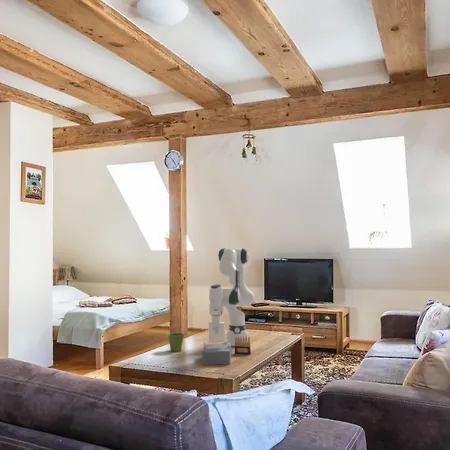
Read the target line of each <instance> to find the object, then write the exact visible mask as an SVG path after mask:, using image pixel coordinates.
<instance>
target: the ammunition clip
mask: <svg viewBox="0 0 450 450" xmlns="http://www.w3.org/2000/svg"><path fill="white" fill-rule="evenodd" d="M250 338H251V337H250V336H248V342H247V336H246V338H244V336H243V345H242V336H241V337H240V339H239V336H238V342H237V336H236V337H235V346H234V355H249V356H250V355H251V354H252V351H251V339H250ZM237 344H238V346H237Z"/></svg>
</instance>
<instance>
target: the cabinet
mask: <svg viewBox="0 0 450 450" xmlns="http://www.w3.org/2000/svg"><path fill="white" fill-rule="evenodd" d="M201 356H202V357H201V358H202V359H201V360H202V361H201V365H231V360H232V346H231V344H230V343H228V344H225V343H224V344H222V343H221V344H207V342H203V348H202V350H201Z"/></svg>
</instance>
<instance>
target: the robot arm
mask: <svg viewBox="0 0 450 450" xmlns="http://www.w3.org/2000/svg"><path fill="white" fill-rule="evenodd" d="M217 256H218V261H219V265H218V266H219V267H218V269H219V271H220V273H221V274H223V276H225V277H228V281H229V283H230V284H231V285H232V288H223V286H222V285H221V284H212V285H210V288H209V297H208V298H209V307H208V308H209V309H208V310H209V314H210V316H211V322H212V325H213V328H215V333H218V327H219V323H220V322H221V317H222V316H223V314H224V308H225V309H226V311H227V313H228V319H229V320H228V321H229V325H228V331H227V333H226V340H225V342H224V344H228V343H230V344H231V347H235V337H236V336H237V342H238V336H239V339H240V337H241V336H242V345H243V336H244V338H246V336H247V342H248V337H249V335H248V331H247V330H246V329H247V328H246V322H245V318H246V315H245V313H244V312H243V311H242V310H240V309H238V308H237V307H239V306H249V305H252V304H253V303H254V302H255V295H254V292H253V291H252V290H250V289H249V287H248V286H247V284H246V279H245V264H246V263H248V262H249V259H250V253H249V250H248V249H246V248H245V247H244V248H243V247H242V248H240V247H229V248H228V247H227V248H226V247H223V248H220V249H219V251H218V255H217ZM237 346H238V344H237Z"/></svg>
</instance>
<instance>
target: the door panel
mask: <svg viewBox="0 0 450 450" xmlns="http://www.w3.org/2000/svg"><path fill="white" fill-rule="evenodd" d="M225 324H226V323H225V321H220V323H219V327H218V333H215V328H213V325H212V321H208V343H225V342H226V326H225Z"/></svg>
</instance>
